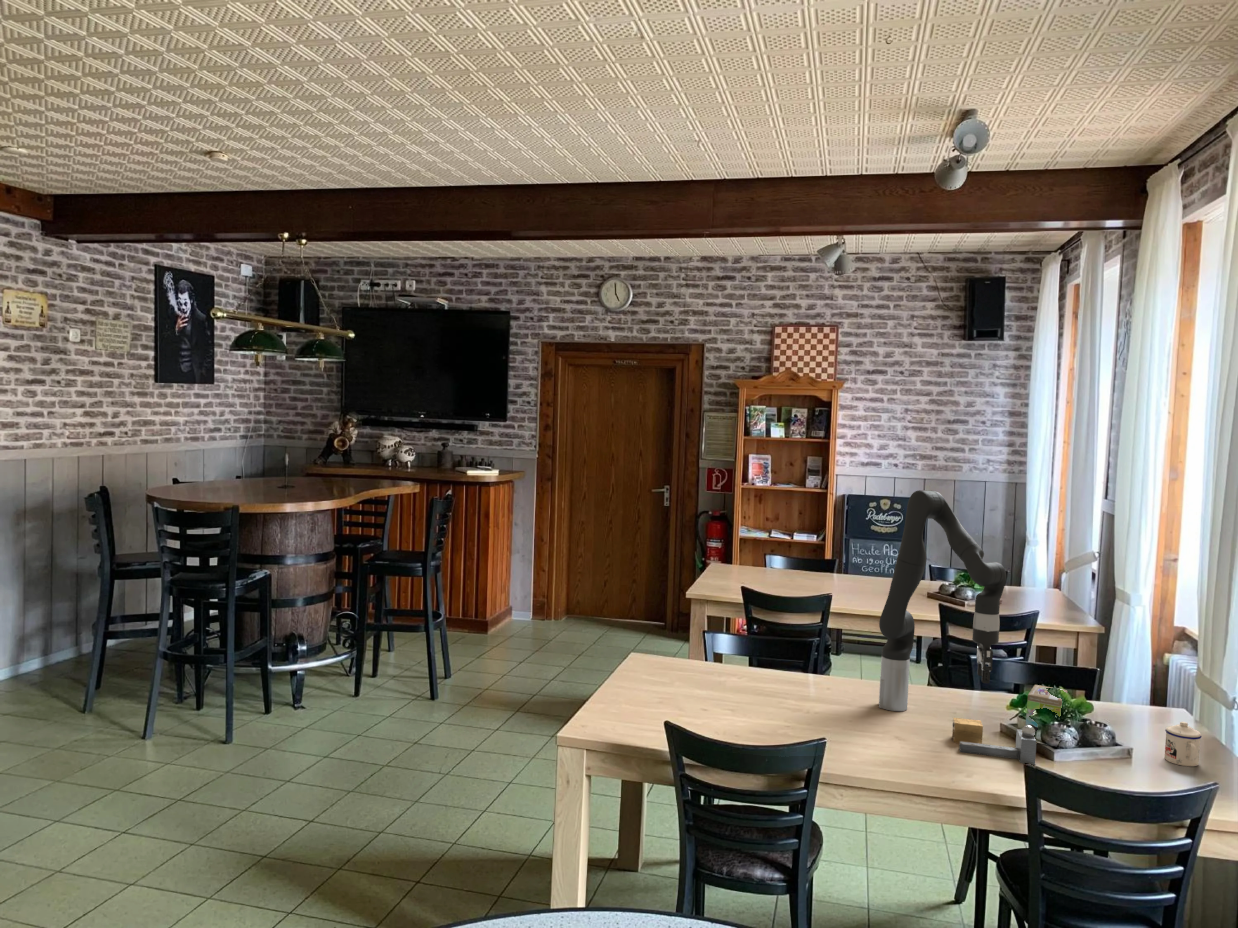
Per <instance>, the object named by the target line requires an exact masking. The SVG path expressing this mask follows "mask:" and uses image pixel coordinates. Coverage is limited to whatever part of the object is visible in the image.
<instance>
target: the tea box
mask: <svg viewBox="0 0 1238 928" xmlns="http://www.w3.org/2000/svg"><path fill="white" fill-rule="evenodd" d="M1046 688H1052V687H1050V686H1044V685H1040V684H1039V685H1038V684H1034V685H1033V687H1032V688H1031V690H1030V691H1029V692H1028V694H1027V703H1026V713H1025V714H1026V715H1025V724H1024V726H1026V725H1030V726H1032V727H1033V728H1034V729H1035V732H1036V731H1037V730H1038V724H1037V723H1036V722H1035V721H1034V720H1033V719H1031V718H1030V717H1029V716H1031V715H1033V714H1034V713H1033V712H1034V711H1035V709H1040V708H1041V709H1043V708H1047V709H1049V710H1051V711H1052V712H1055V713H1057V714H1058V716H1059V717H1060V716H1061V708H1062V699H1061V698H1057V697H1055V696H1053V695H1051V694H1050V693H1049V692H1048V691H1047V690H1048V689H1046ZM1059 689H1060V690H1063V691H1064V692H1066V693H1069V692H1068V690H1067V689H1061V688H1059ZM1057 714H1056V715H1057Z"/></svg>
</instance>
